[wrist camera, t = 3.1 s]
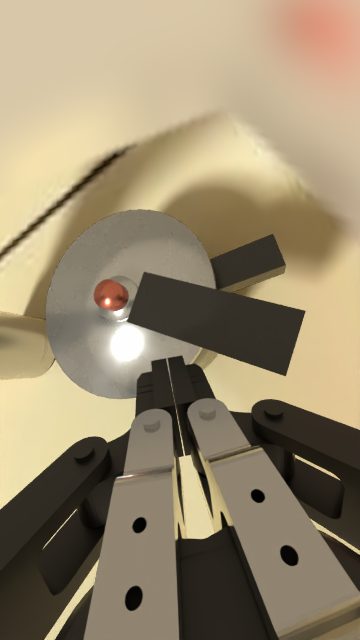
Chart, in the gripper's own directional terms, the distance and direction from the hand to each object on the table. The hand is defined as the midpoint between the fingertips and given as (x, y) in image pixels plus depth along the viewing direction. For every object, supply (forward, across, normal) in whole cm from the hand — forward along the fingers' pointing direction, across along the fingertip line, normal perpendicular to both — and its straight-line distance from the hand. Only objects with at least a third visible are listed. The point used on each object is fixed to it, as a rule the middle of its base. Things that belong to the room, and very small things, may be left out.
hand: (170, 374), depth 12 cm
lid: (+11, -1, 0) cm, 11 cm away
